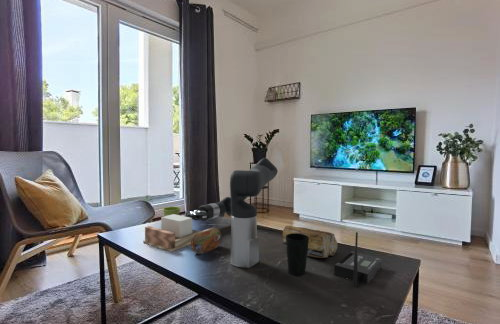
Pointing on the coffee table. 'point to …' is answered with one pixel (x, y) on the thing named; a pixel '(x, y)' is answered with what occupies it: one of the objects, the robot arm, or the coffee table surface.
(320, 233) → the petrified wood
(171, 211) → the plant pot
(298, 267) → the cup
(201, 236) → the tin
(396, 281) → the coffee table surface
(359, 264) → the wireless controller
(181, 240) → the roller track
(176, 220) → the white rectangular block
